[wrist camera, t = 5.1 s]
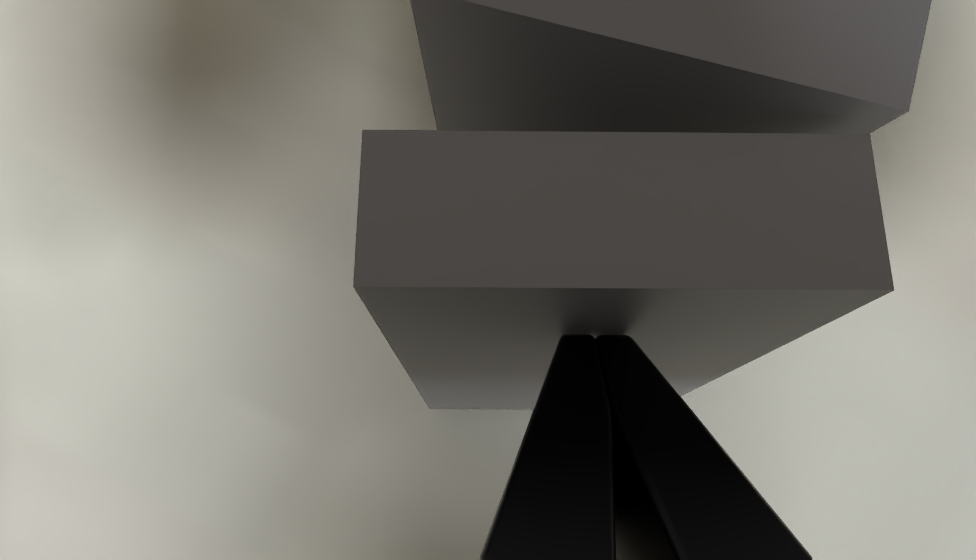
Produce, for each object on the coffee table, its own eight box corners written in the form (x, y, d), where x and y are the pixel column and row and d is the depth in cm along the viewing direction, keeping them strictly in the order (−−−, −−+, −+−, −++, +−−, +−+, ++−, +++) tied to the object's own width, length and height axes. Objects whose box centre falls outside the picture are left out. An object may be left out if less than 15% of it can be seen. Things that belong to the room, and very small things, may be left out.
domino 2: (652, 410, 16) (894, 290, 7) (429, 408, 16) (353, 286, 7) (649, 339, 17) (870, 134, 7) (431, 337, 17) (362, 130, 7)
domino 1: (659, 250, 17) (908, 111, 7) (451, 198, 17) (408, -14, 7) (675, 185, 17) (940, -42, 7) (468, 133, 17) (448, -163, 7)
